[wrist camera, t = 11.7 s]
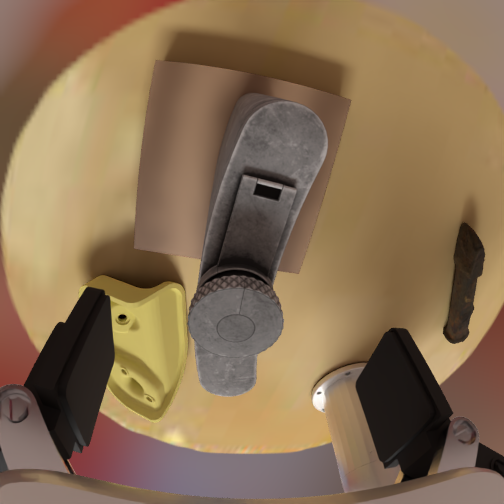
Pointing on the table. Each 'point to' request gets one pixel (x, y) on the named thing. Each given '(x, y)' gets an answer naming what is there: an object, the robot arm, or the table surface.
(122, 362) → the plastic component
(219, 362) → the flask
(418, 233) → the table surface
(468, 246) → the hand tool
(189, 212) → the brown flat square piece
